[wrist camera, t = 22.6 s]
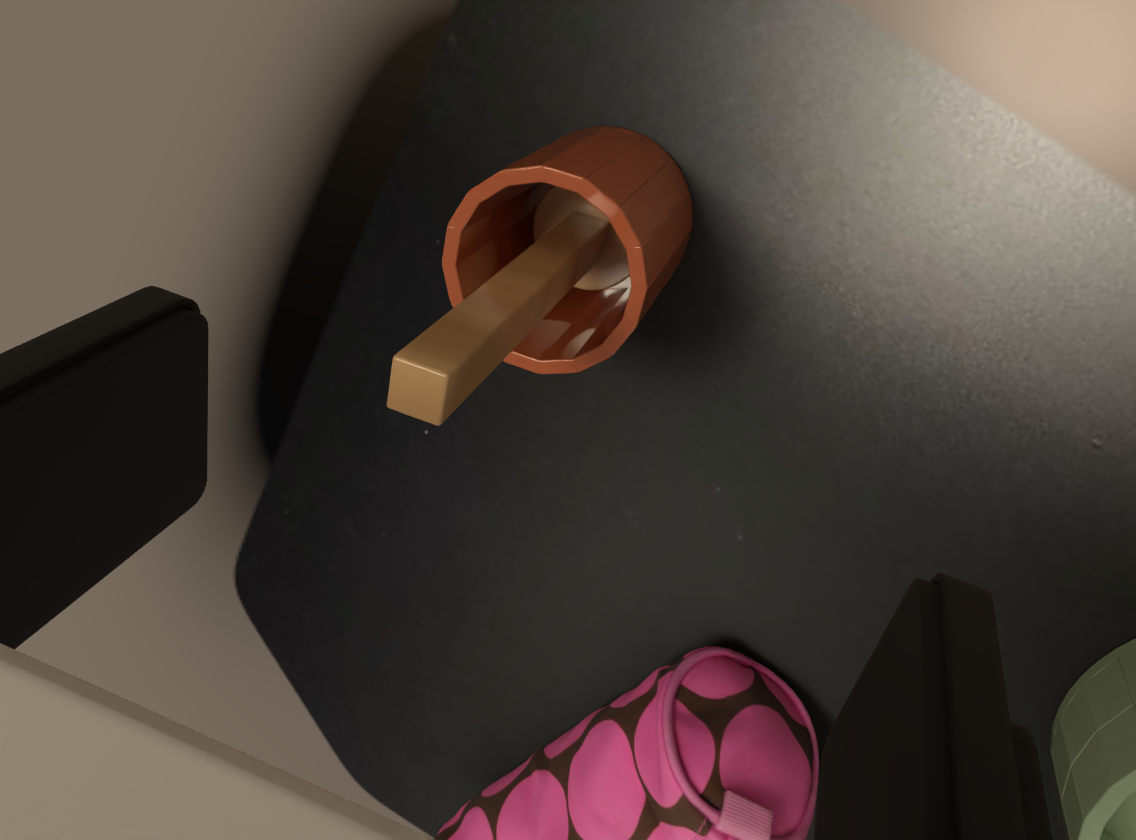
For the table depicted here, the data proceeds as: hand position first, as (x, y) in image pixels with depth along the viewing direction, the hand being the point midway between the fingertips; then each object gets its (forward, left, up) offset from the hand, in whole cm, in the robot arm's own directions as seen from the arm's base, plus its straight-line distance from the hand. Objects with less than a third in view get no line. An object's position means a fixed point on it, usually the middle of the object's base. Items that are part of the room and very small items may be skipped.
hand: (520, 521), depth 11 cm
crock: (+4, -5, -25) cm, 25 cm away
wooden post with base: (+4, -5, -24) cm, 25 cm away
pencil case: (+31, +3, -25) cm, 39 cm away
